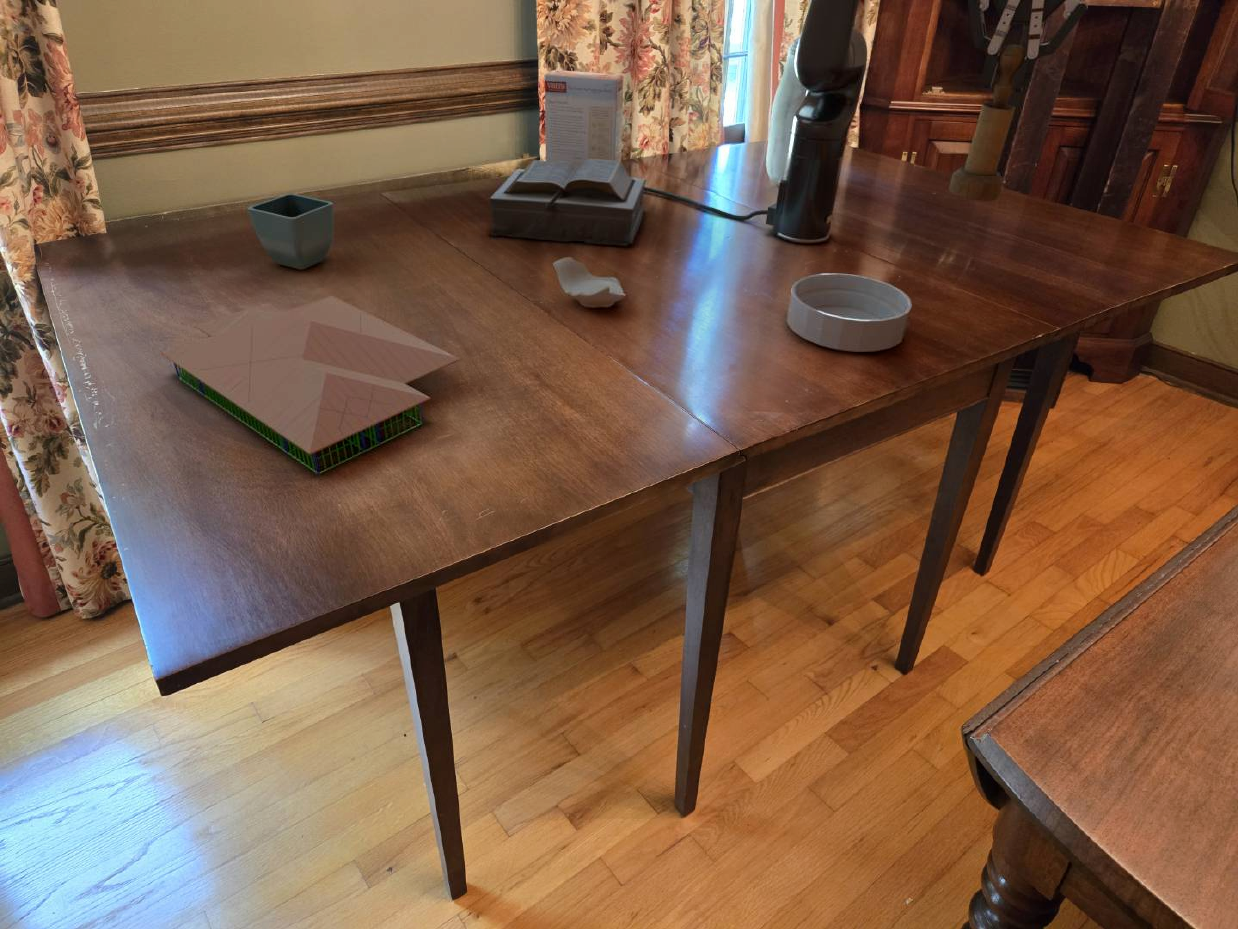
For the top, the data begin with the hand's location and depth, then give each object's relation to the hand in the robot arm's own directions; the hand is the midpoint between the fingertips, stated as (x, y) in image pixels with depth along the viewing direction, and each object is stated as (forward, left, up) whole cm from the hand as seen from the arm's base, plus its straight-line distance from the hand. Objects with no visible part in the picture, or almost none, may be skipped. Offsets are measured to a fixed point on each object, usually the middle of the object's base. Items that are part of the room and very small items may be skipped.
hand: (1002, 88), depth 103 cm
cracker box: (-74, +23, -31) cm, 83 cm away
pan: (-11, -13, -31) cm, 35 cm away
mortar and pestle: (0, 0, -13) cm, 13 cm away
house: (-60, -62, -31) cm, 92 cm away
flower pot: (-90, -36, -31) cm, 101 cm away
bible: (-65, +3, -31) cm, 72 cm away
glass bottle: (-40, +49, -31) cm, 70 cm away
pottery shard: (-45, -24, -31) cm, 59 cm away
